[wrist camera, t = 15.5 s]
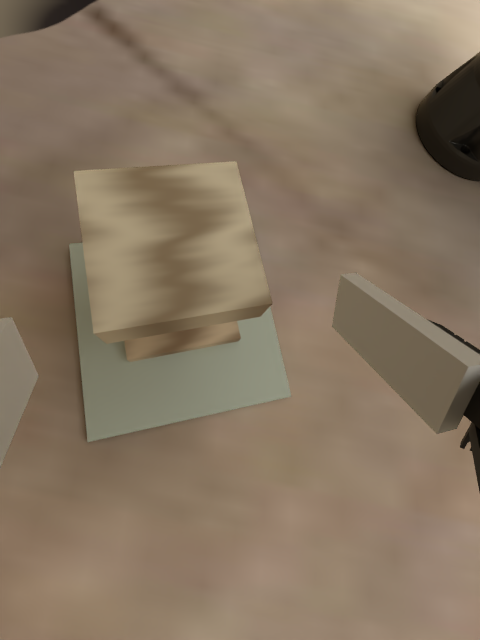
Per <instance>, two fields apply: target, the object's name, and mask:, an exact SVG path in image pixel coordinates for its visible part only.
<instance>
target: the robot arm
mask: <svg viewBox="0 0 480 640" xmlns="http://www.w3.org/2000/svg"><path fill="white" fill-rule="evenodd" d="M416 124H417V129H418V133H419V136H420V138H421V140H422V142H423V144H424V146H425V147H426V149H427V150H428V152H429V153H430V154H431V155H432V156H433V157H434V159H435V160H436V161H438V162H439V163H440V164H441V165H442V166H443V167H445V168H446V169H448V170H449V171H451V172H453V173H454V174H456V175H459V176H461V177H463V178H466V179H470V180H476V181H480V52H479V53H478V54H476V55H475V56H474V57H472V58H471V59H470V60H468V61H467V62H466V63H464V64H463V65H462V66H460V67H459V68H458V69H456V70H455V71H454V72H452V73H451V74H450V75H449V76H447V77H446V78H445V79H443V80H442V81H441V82H439V83H438V84H437V85H436V86H435V87H434V88H433V89H432V90H431V91H430V92H429V94H428V95H427V96H426V97H425V99H424V100H423V101H422V102H421V104H420V106H419V108H418V110H417V115H416ZM332 327H333V328H334V329H335V330H336V331H337V332H338V333H339V334H340V335H341V336H342V337H343V338H344V339H345V340H346V341H347V342H348V343H349V344H350V345H351V346H352V347H353V348H354V349H355V350H356V351H357V352H358V353H359V355H360V356H361V357H362V358H363V359H364V360H365V361H366V362H367V363H368V364H369V365H370V366H371V367H372V368H373V369H374V370H375V371H376V372H377V373H378V374H379V375H380V376H381V377H382V378H383V379H384V380H385V381H386V382H387V383H388V384H389V385H390V386H391V387H392V388H393V389H394V390H395V391H396V392H397V394H398V395H399V396H400V397H401V398H402V399H403V400H404V401H405V402H406V403H407V404H408V405H409V406H410V407H411V408H412V409H413V410H414V411H415V412H416V413H417V414H418V415H419V416H420V417H421V418H422V419H423V420H424V421H425V422H426V423H427V424H428V425H429V426H430V427H431V428H432V429H433V430H434V431H435V433H436V434H439V433H442V432H446V431H450V430H453V429H457V427H458V425H459V423H460V421H461V419H462V417H463V415H464V416H466V417H467V418H468V419H469V420H470V421H471V422H472V423H471V425H470V427H469V428H468V430H467V432H466V434H465V436H464V438H463V439H462V441H461V445H460V448H463V449H464V448H465V446H466V444H467V443H468V442H471V449H470V451H472V453H473V459H474V464H475V470H476V475H477V481H478V486H479V492H480V350H479V349H477V348H476V347H474V346H473V345H471V344H470V343H468V342H465V341H464V339H462V338H461V337H459V336H457V335H454V333H453V332H451V331H450V330H448V329H447V328H445V327H444V326H442V325H440V324H437V323H435V322H432V321H430V320H427V319H425V318H424V317H422V316H421V315H419V314H418V313H416V312H415V311H413V310H412V309H410V308H409V307H407V306H406V305H404V304H403V303H401V302H400V301H398V300H396V299H395V298H393V297H392V296H390V295H389V294H387V293H386V292H384V291H383V290H381V289H380V288H378V287H377V286H375V285H374V284H372V283H371V282H369V281H368V280H366V279H365V278H363V277H362V276H360V275H359V274H357V273H349V274H341V276H340V282H339V288H338V294H337V300H336V306H335V312H334V318H333V324H332ZM38 376H39V375H38V373H37V371H36V369H35V367H34V364H33V362H32V360H31V358H30V356H29V353H28V351H27V349H26V347H25V345H24V343H23V340H22V338H21V336H20V334H19V332H18V330H17V327H16V325H15V323H14V321H13V319H12V317H9V318H2V319H0V467H1V465H2V463H3V460H4V458H5V455H6V453H7V451H8V448H9V446H10V443H11V441H12V439H13V436H14V434H15V431H16V429H17V427H18V424H19V422H20V419H21V417H22V415H23V412H24V410H25V408H26V405H27V403H28V400H29V398H30V396H31V393H32V391H33V388H34V386H35V384H36V381H37V379H38Z"/></svg>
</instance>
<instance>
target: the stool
mask: <svg viewBox="0 0 480 640" xmlns="http://www.w3.org/2000/svg"><path fill="white" fill-rule="evenodd" d="M74 178H75V186H76V195H77V203H78V211H79V219H80V227H81V235H82V243H83V251H84V259H85V268H86V276H87V284H88V292H89V300H90V308H91V316H92V324H93V333H94V334H95V335H96V336H97V337H99V338H100V339H101V340H102V341H104V342H105V343H106V344H109V343H115V342H120V341H124V342H125V349H126V356H127V360H128V361H129V362H133V361H138V360H143V359H149V358H154V357H159V356H164V355H169V354H175V353H180V352H185V351H190V350H195V349H201V348H206V347H211V346H216V345H221V344H227V343H232V342H237V341H239V340H240V339H241V336H240V332H239V328H238V323H237V321H239V320H245V319H250V318H256V317H261V316H262V314H263V313H264V312H265V311H266V310H267V309H268V308H269V307H270V306H271V305H272V300H271V296H270V292H269V288H268V284H267V280H266V276H265V272H264V268H263V264H262V260H261V256H260V253H259V249H258V245H257V241H256V237H255V233H254V229H253V225H252V221H251V217H250V213H249V209H248V205H247V201H246V197H245V194H244V190H243V186H242V182H241V178H240V174H239V170H238V166H237V162H236V161H235V162H218V163H201V164H184V165H167V166H151V167H134V168H117V169H100V170H83V171H74Z"/></svg>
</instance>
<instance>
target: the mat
mask: <svg viewBox="0 0 480 640" xmlns="http://www.w3.org/2000/svg"><path fill="white" fill-rule="evenodd" d="M69 248H70V259H71V270H72V281H73V291H74V302H75V313H76V323H77V334H78V345H79V355H80V366H81V377H82V387H83V398H84V409H85V419H86V430H87V441H88V442H91V441H95V440H100V439H104V438H109V437H113V436H117V435H122V434H126V433H131V432H135V431H140V430H144V429H149V428H153V427H158V426H162V425H167V424H171V423H175V422H180V421H184V420H189V419H193V418H198V417H202V416H207V415H211V414H216V413H220V412H225V411H229V410H233V409H238V408H242V407H247V406H251V405H256V404H260V403H265V402H269V401H274V400H278V399H283V398H287V397H291V393H290V389H289V384H288V380H287V376H286V372H285V367H284V363H283V359H282V355H281V350H280V346H279V342H278V338H277V333H276V329H275V325H274V321H273V316H272V312H271V308H270V307H269V308H268V309H267V310H266V311H265V312H264V313H263V314H262V316H261V317H256V318H250V319H245V320H239V321H237V323H238V328H239V332H240V336H241V339H240V340H239V341H237V342H232V343H227V344H221V345H216V346H211V347H206V348H201V349H195V350H190V351H185V352H180V353H175V354H169V355H164V356H159V357H154V358H149V359H143V360H138V361H133V362H129V361H128V360H127V356H126V349H125V342H124V341H120V342H115V343H109V344H106V343H105V342H104V341H102V340H101V339H100V338H99V337H97V336H96V335H95V334H94V333H93V324H92V316H91V308H90V300H89V292H88V284H87V276H86V268H85V259H84V251H83V243H73V244H69Z"/></svg>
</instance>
